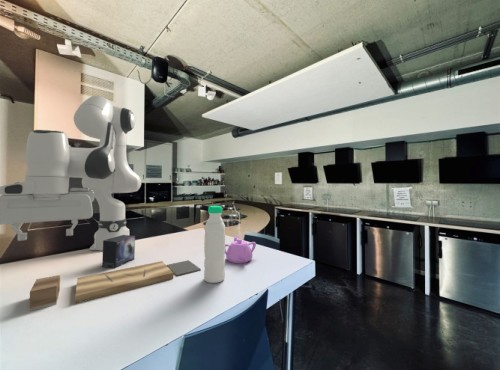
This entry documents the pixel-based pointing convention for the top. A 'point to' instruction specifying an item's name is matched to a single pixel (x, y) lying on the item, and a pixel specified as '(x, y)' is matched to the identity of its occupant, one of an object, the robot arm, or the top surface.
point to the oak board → (120, 280)
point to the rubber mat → (183, 268)
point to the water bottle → (214, 246)
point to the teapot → (239, 251)
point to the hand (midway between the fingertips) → (47, 237)
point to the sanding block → (44, 292)
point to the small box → (118, 251)
